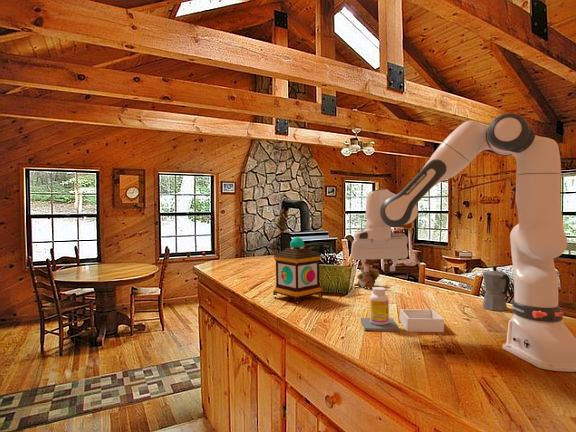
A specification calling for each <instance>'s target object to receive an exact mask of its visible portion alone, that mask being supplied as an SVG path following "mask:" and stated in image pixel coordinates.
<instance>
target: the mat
mask: <svg viewBox="0 0 576 432" xmlns="http://www.w3.org/2000/svg"><path fill="white" fill-rule="evenodd" d="M360 322H361V324H363V325H362V327H363V326H364V327H363V330H364V329H365V330H378V331H377V332H401V331H400V329H401V328H400V327H399V326H398V324H397V323H396V322H395V320H394V318H392V317H389V323H388V324H386V325H375V324H372V323H371V322H370V317H361V318H360ZM365 330H364V331H365Z"/></svg>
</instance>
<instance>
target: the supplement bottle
mask: <svg viewBox="0 0 576 432" xmlns="http://www.w3.org/2000/svg"><path fill="white" fill-rule="evenodd" d="M386 290H387V289H386V288H385V287H383V286H373V288H372V292H373V293H372V294H371V295H370V297H369V308H370V309H369V316H370V317H369V318H370V322H371V323H372V324H375V325H386V324H388V323H389V318H390V317H389V315H390V313H389V312H390V309H389V307H390V306H389V296H388V295H387V294H386Z"/></svg>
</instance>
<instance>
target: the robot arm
mask: <svg viewBox="0 0 576 432" xmlns="http://www.w3.org/2000/svg"><path fill="white" fill-rule="evenodd" d="M483 151H485V152H489V153H492V154H495V155H498V156H500V157H501V156H502V157H509V156H513V157H514V159H515V161H516V172H515V173H516V175H515V176H516V177H515V178H516V179H515V204H516V209H517V210H516V211H517V217H518V223H517V224H516V225H515V226H513V228H512V230H511V231H510V235H509V240H510V250H511V253H510V254H511V261H512V269H513V285H514V286H513V293H514V294H513V300H512V305H511V308H512V309H511V310H512V313H513V315H512V317H511V319H510V320H509V321H508V323H507V324H508V325H507V333H506V343H503V344H502V349H503V350H505V351H506V352H509V353H510V354H512V355H514V356H516V357H518V358H520V359H521V360H523V361H526V362H527V363H529V364H531V365H533V366H535V367H536V368H539V369H543V370H547V371H556V372H569V373H570V372H571V373H574V372H576V337H575V336H574V335H573V333H572V332H571V331H570V330H569V328H568V327H567V325H566V324H565V322H564V321H563V319H564V318H563V317H565V315H563V314H565V312H563V311H562V310H561V306H560V305H559V277H558V275H557V271H556V267H555V261H554V259H556V258H558V257H560V256H562V255H563V254H564V252H565V251H566V249H567V247H568V237H567V235H566V233H565V225H564V219H563V212H562V207H561V206H562V205H561V179H562V178H561V177H562V175H561V174H562V166H561V165H562V163H561V154H560V150H559V145H558V143H557V142H556V140H555V139H552V138H550V137H545V136H537V137H536V133H535V131H534V130H533V129H532V127H531V126H530V123H529V122H528V121H527V120H526V118H524V117H523V116H521V115H520V114H518V113H512V112H508V113H504V114H500V115H499V116H496V117H495V118H494V119H492V121H491V122H490V124H489V125H486V124H482V123H481V122H480V121H476V120H466V121H464V122H462V123H461V124H459V126H458V127H456V128H455V129H454V130H453V131H452V132H451V133H450V134H449V135H448V136H447V137H446V138H445V139H444V140H443V141H441V143H440V144H439V145H438V147H437V148H436V150H435V151H434V152H433V153H432V154H431V156H430V158H429V159H428V161H427V162H426V163H425V164H424V166H423V167H422V169H420V171H419V172H418V173H417V174H416V175H415V176H414V177H413V178H412V180H411V181H409V183H408V184H407V185H406V186H405V187H404V188H403V189H402V190H400V192H398V193H397V194H396V193H394V192H391V191H390V190H389V189H387V188H380V189H375V190H372V191H370V192H368V194H367V196H366V200H365V216H366V223H365V224H366V225H365V228H364V230H363V229H362V230H360V231H356V232H355V233H354V234H353V237H354V239H353V241H352V243H351V250H350V257H351V258H352V259H353V260H360V262H361V265H362V264H363V266H364V271H365V272H369V270H368V269H369V267H368V266H366V265H365V264H366V260H392V261H393V263H392V265H389V271H390V272H395V271H396V266H397V265H398V263H399V260H402V259H403V260H404V259H407V258H408V257H409V252H408V246H407V245H408V242H409V241H408V240H409V239H408V236H407V235H406V234H404V233H402V232H400V233H397V232H395V233H393V232H392V228H401V227H403V226H404V225H408V224H411V223H412V222H414V221H415V220H416V218H418V215H419V207H418V205H417V204H418V203H419V202H420V201H421V200H422V199H423V198H424V197H425V196H426V195H427V194H428V192H430V191H431V189H433V187H435V186H436V185H437V184H440V183H442V182H444V181H446V180H449V179H451V178H454V177H455V176H457V175H458V174H459V173H461V171H463V170H465V168H466V167H467V166H469V165H470V163H471V162H472V161H473V160H474V159H475V158H476V157H477V156H478V155H479V154H480V153H482V152H483Z"/></svg>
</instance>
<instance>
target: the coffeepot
mask: <svg viewBox="0 0 576 432" xmlns="http://www.w3.org/2000/svg"><path fill="white" fill-rule="evenodd" d="M497 268H498V266H492V270H486V271H482V278H483V284H484V285H483V286H484V288H485V293H484V297H483V302H482V308H483V309H485V310H488V311H491V310H492V312H505V311H507V310H508V307H507V305H508V304H507V300H506V296H505V295H507V293H508V291H509V287H510V283H511V279H510V277H509V275H508V274H507V273H505V272H502V271H498V270H497Z"/></svg>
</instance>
